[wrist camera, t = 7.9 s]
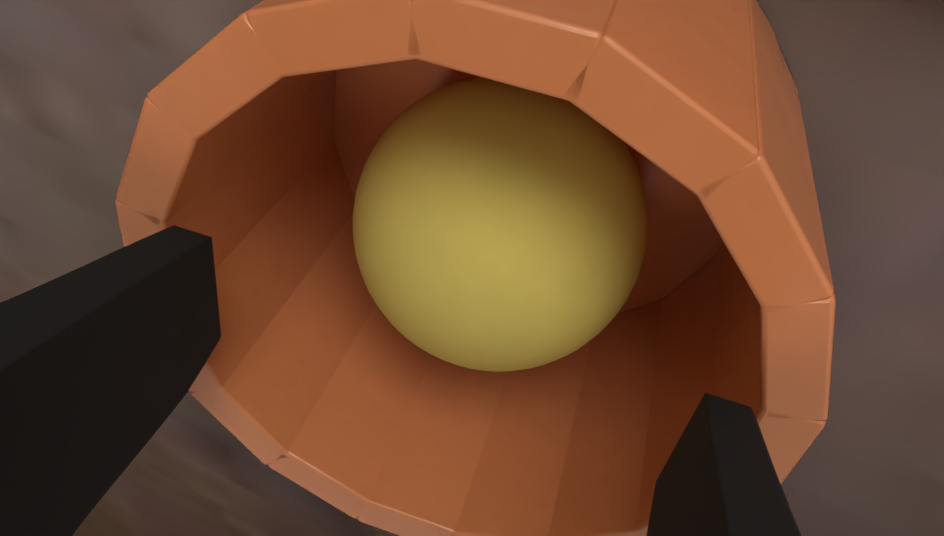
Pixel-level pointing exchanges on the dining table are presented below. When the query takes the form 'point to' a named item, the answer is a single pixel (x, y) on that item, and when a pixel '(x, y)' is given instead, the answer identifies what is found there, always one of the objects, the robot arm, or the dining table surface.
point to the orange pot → (459, 388)
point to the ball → (499, 225)
